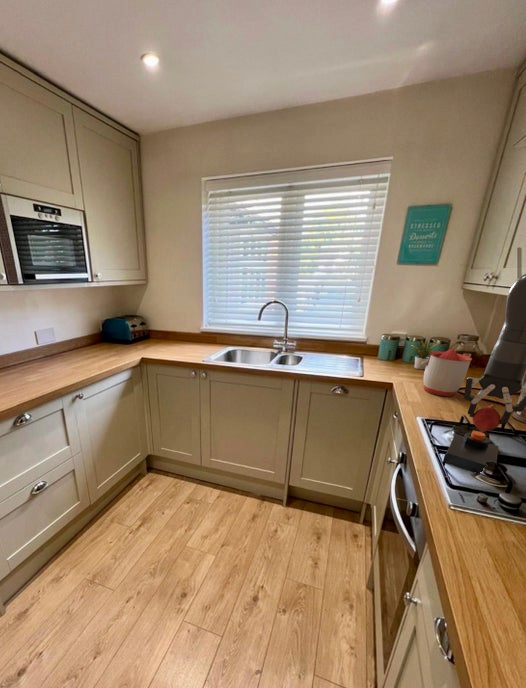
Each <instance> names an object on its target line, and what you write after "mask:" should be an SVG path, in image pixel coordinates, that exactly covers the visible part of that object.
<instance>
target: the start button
mask: <svg viewBox="0 0 526 688" xmlns="http://www.w3.org/2000/svg"><path fill="white" fill-rule="evenodd" d="M471 433H472V434H471V436H470V437H471V438H473V439H476V440H481V441H483V440H484V438H485V437H486V434H485V432H481V431H479V430H473V431H471Z"/></svg>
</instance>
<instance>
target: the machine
mask: <svg viewBox="0 0 526 688" xmlns="http://www.w3.org/2000/svg"><path fill="white" fill-rule="evenodd" d="M471 434H472V432H465V433H464V435H461V434H457V433H454V435H453V437H452V439H451V442H450V445H449V446H448V449H447V451H446V454H445V456H444V459H443V463H444V462H445V463H444V464H447V465H450V466H453V467H455V468H459V469H462V470H464V471H468V472H472V473H474V472H476V473H475V474H477V473H480V472H482V471H483V468H484V467H485V466H488V465H487V464H486V462H494V463H496V464H498V463H497V462H498V454H499V448H500V447H499V445H496V444H492V443H490V442H491V439H490V438H488V437H487V436H485V438H484V440H483V441H481V440H476V439H473V438H471V437H470V436H471Z"/></svg>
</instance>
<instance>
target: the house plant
mask: <svg viewBox="0 0 526 688" xmlns="http://www.w3.org/2000/svg"><path fill="white" fill-rule="evenodd" d="M417 343H418V344H419V345H418V346H419V347H417V346H415V345H413V344H410V346H411V347H412V348H414V350H415V351H416V353H418V355H415V357H414V369H417V370H425V369H426V364H422V362H423V361H424V360H426V359H429V357H430V354H431V352H434V351H433V349H435V348H436V346H438V345H439V344H440V342H436V341H434V342H433V344H432V343H431V342H429V340H428V339H426V340H425V343H424V342H423V341H419V340H417ZM431 345H432V346H431Z"/></svg>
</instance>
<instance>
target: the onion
mask: <svg viewBox="0 0 526 688" xmlns="http://www.w3.org/2000/svg"><path fill="white" fill-rule="evenodd" d="M501 418H502V416H501V415H500V413H499V411H498V410H496V409H495V405H494V404H490V405H487V406H483V407H481V408H479V409H477V410H475V412H474V415H473V417H471V419H472V420H471V421H472V423H473V425H474V426H475V427H476V429H478V431H479V432H482V433H485V432H489V431H492V430H494V429H496V428H498V427H499V426H500V425H501V424H500V421H501Z"/></svg>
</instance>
